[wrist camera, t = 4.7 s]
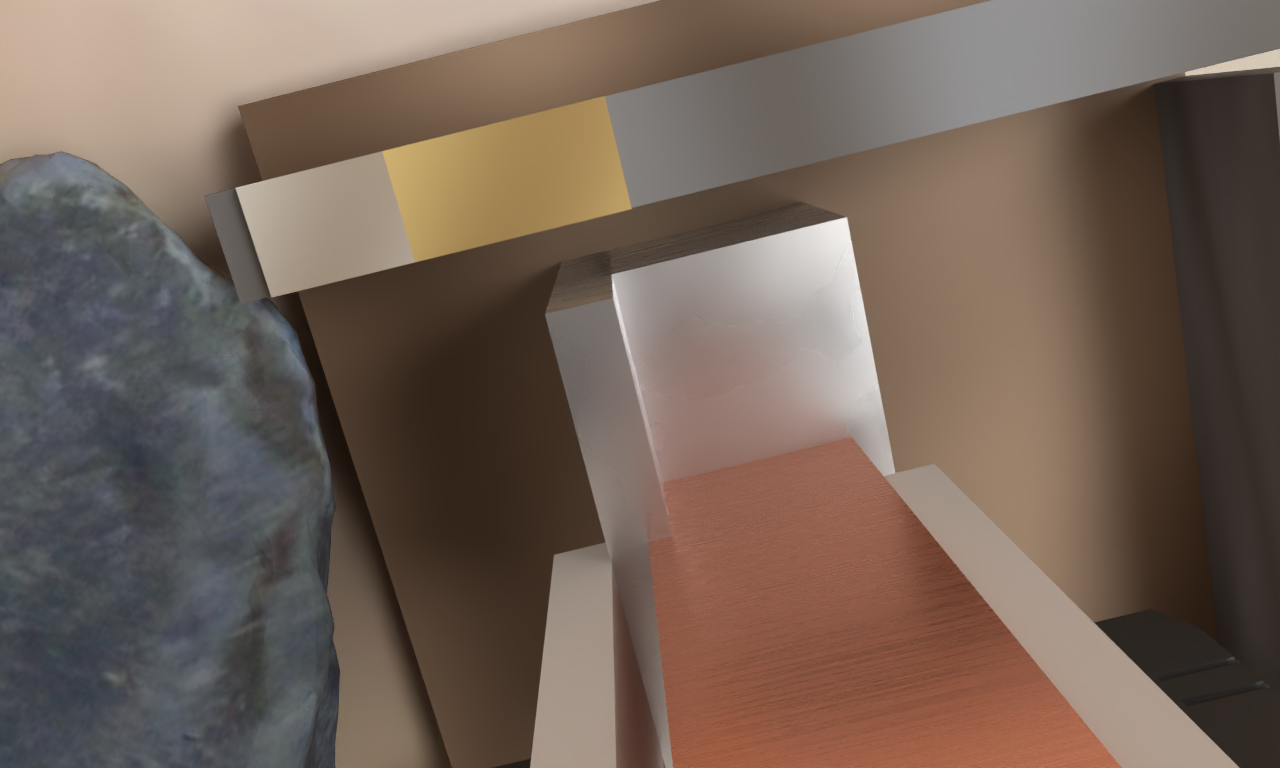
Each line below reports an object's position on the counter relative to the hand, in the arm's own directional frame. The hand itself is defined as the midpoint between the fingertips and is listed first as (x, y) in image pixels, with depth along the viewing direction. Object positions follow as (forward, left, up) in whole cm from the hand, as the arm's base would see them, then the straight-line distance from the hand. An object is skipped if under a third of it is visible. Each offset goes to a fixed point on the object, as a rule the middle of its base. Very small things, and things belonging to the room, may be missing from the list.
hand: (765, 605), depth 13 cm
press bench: (+1, 0, -6) cm, 6 cm away
